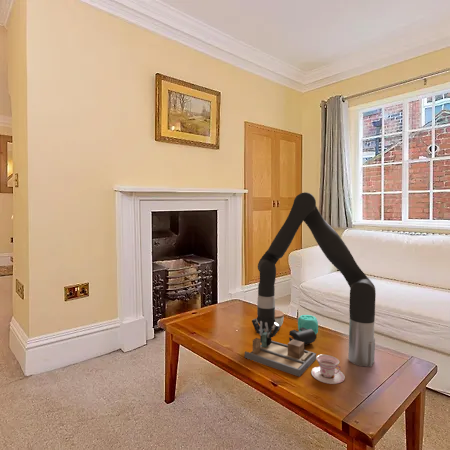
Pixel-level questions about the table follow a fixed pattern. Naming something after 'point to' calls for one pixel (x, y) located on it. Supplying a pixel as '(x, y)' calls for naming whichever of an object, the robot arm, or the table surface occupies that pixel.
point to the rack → (280, 365)
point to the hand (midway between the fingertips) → (265, 344)
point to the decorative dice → (308, 323)
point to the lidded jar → (278, 318)
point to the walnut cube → (296, 349)
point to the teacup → (328, 370)
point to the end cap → (303, 335)
